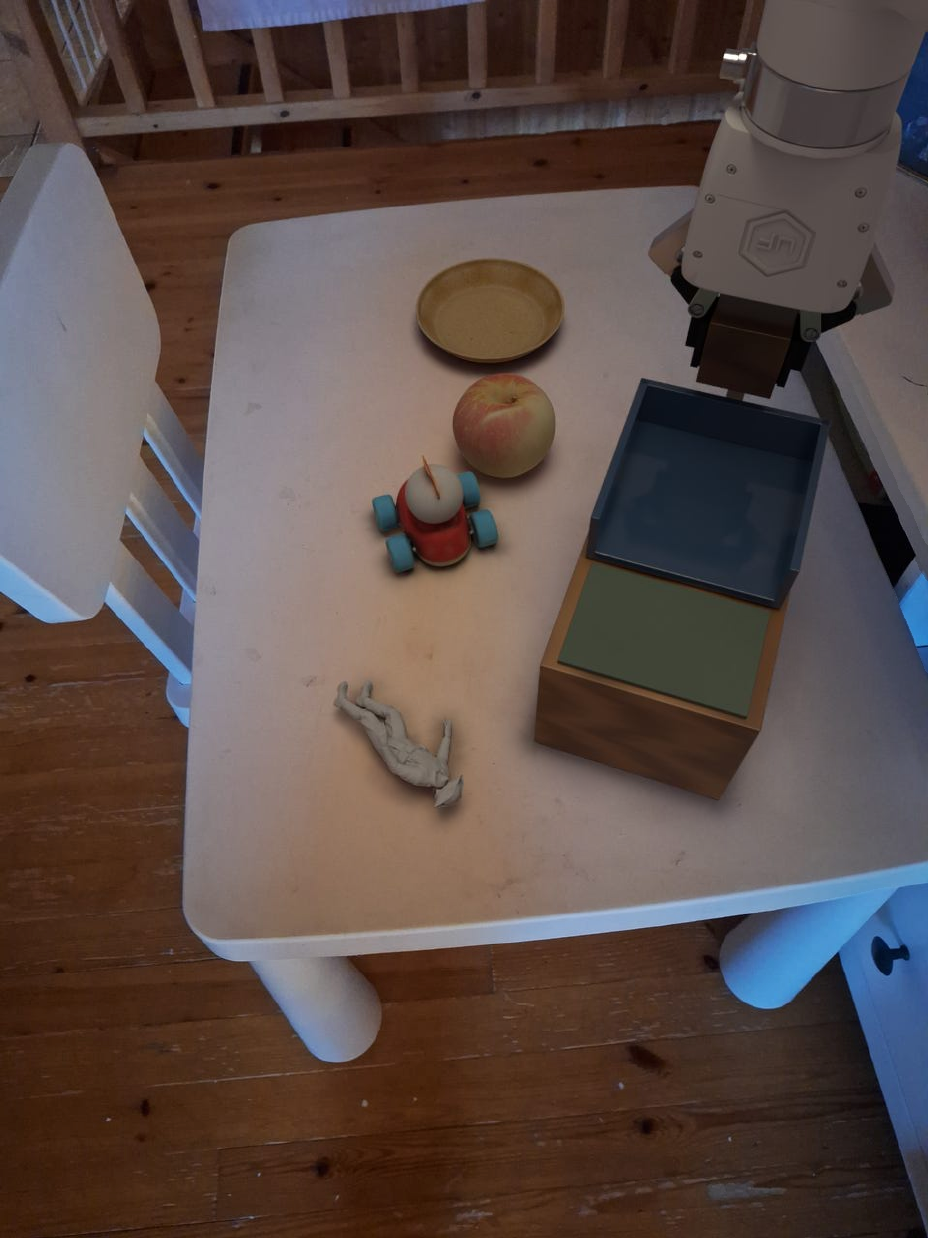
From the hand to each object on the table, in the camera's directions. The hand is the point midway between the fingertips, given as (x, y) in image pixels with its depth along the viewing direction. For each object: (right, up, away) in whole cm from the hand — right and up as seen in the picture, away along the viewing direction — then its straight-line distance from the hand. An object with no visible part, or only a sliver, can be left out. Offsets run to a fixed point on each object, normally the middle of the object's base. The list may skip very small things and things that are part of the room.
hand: (741, 361), depth 61 cm
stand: (-3, -19, +11) cm, 22 cm away
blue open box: (-1, -7, +4) cm, 8 cm away
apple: (-15, -3, +22) cm, 26 cm away
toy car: (-21, -10, +17) cm, 29 cm away
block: (0, 0, 0) cm, 0 cm away
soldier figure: (-23, -27, +7) cm, 37 cm away
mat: (-6, -19, -3) cm, 20 cm away
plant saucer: (-16, +12, +31) cm, 37 cm away
